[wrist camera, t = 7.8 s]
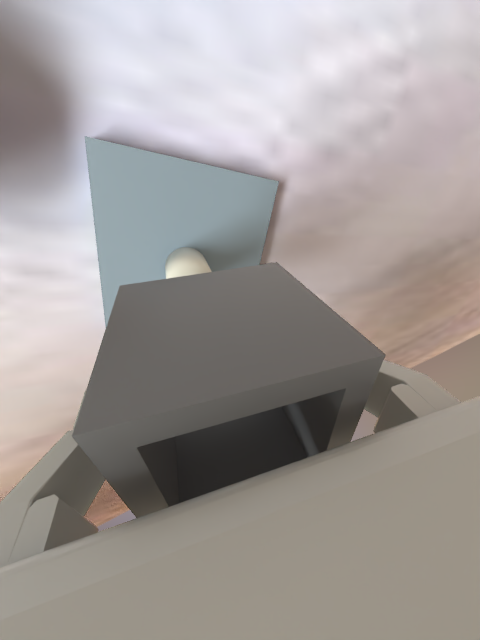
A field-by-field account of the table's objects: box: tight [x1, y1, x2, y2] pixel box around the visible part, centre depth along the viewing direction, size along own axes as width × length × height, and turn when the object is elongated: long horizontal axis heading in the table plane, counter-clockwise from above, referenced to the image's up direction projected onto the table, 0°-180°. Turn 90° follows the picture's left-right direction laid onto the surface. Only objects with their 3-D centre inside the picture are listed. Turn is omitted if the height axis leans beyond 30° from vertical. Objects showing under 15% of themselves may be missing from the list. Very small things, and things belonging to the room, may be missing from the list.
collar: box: [72, 262, 385, 518], centre depth 9 cm, size 6×6×6 cm
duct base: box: [85, 136, 279, 327], centre depth 17 cm, size 14×12×6 cm
